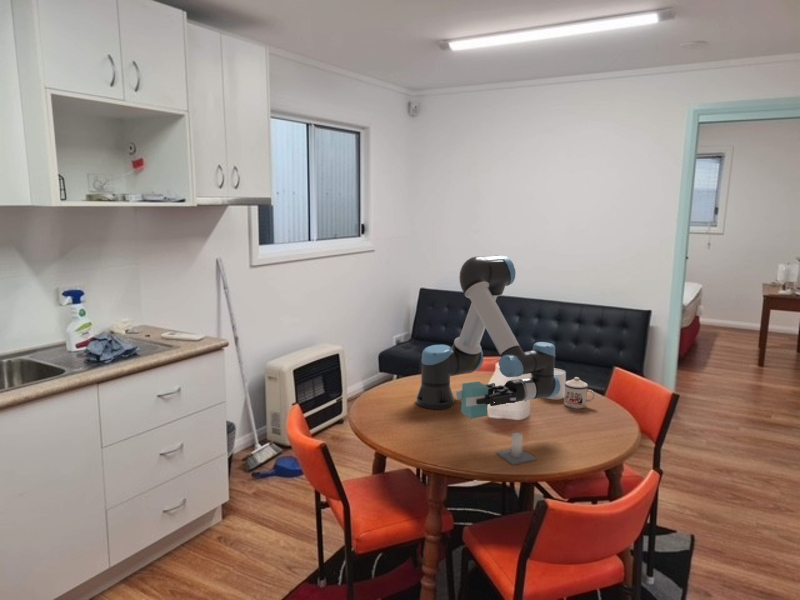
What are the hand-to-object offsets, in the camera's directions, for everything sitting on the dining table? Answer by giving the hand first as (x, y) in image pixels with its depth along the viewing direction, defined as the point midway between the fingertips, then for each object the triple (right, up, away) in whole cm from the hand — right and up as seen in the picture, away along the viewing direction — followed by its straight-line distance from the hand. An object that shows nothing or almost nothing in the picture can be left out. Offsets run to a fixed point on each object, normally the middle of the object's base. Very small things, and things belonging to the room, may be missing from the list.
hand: (461, 398), depth 186 cm
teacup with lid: (+53, -11, +45) cm, 70 cm away
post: (+17, -18, -3) cm, 25 cm away
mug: (+46, -9, +58) cm, 75 cm away
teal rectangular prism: (+5, -6, +3) cm, 8 cm away
